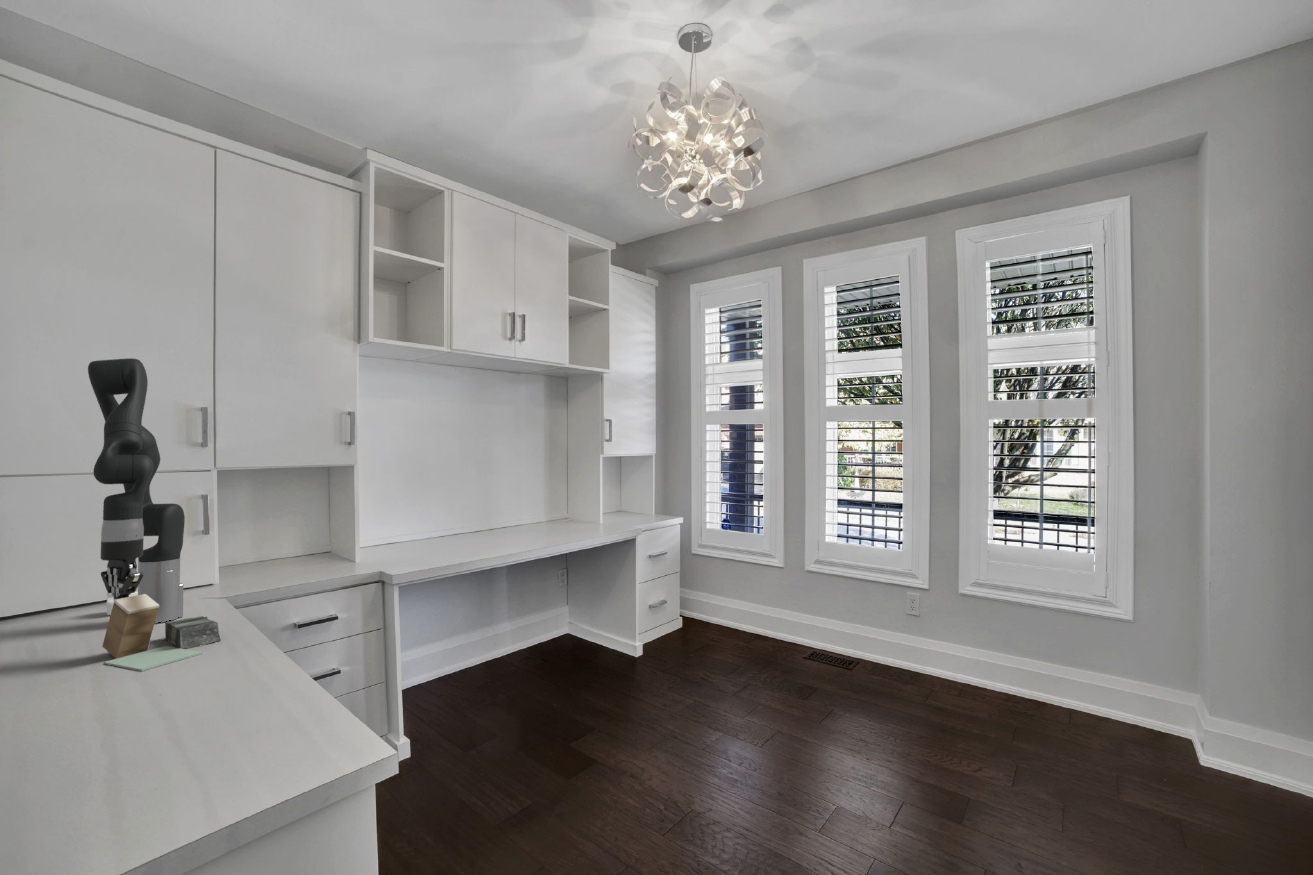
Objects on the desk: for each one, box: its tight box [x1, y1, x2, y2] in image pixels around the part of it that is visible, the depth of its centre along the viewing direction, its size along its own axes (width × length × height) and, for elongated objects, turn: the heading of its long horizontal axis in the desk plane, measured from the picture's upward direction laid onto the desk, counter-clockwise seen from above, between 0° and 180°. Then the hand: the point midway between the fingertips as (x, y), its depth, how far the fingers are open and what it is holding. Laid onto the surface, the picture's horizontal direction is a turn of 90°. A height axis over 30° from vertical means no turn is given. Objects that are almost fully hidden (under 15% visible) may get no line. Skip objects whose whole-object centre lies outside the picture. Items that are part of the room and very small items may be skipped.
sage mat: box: [103, 645, 203, 672], centre depth 135 cm, size 12×14×1 cm
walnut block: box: [102, 594, 160, 659], centre depth 138 cm, size 6×6×12 cm
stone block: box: [164, 615, 221, 650], centre depth 148 cm, size 9×14×5 cm, turn 51°
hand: (120, 611), depth 139 cm, fingers closed
